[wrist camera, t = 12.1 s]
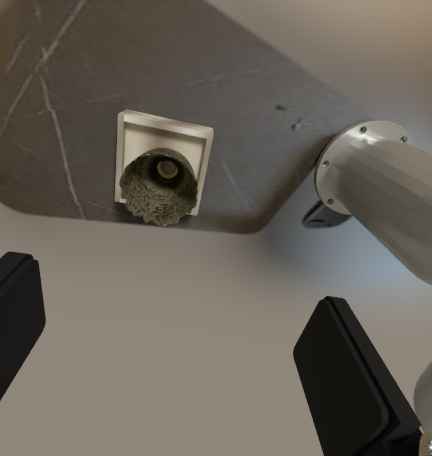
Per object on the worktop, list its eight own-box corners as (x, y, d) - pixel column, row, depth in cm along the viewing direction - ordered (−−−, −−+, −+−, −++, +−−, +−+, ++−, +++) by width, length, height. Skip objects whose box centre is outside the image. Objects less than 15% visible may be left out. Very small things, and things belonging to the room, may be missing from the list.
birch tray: (212, 128, 34) (213, 134, 30) (197, 203, 39) (197, 215, 35) (126, 109, 32) (118, 113, 29) (122, 189, 37) (114, 201, 34)
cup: (161, 205, 36) (151, 238, 29) (123, 157, 32) (101, 181, 26) (210, 176, 34) (212, 204, 27) (176, 122, 31) (168, 137, 24)
